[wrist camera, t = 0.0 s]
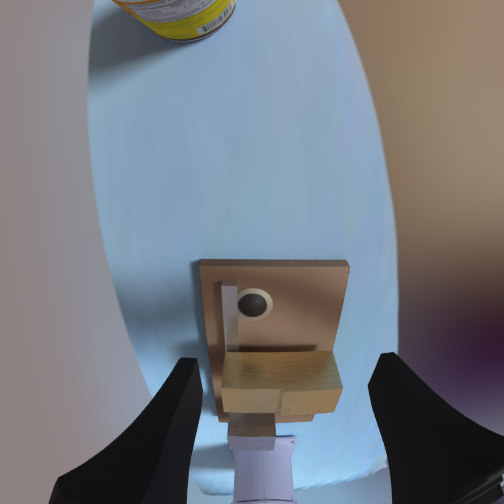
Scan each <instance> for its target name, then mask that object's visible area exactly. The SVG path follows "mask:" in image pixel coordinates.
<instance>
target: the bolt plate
mask: <svg viewBox="0 0 504 504" xmlns="http://www.w3.org/2000/svg"><path fill="white" fill-rule="evenodd" d="M349 270H350V266H349V264H348V262H347V261H346V260H233V259H201V262H200V264H199V272H200V283H201V293H202V303H203V312H204V321H205V329H206V337H207V345H208V353H209V360H210V368H211V375H212V381H213V388H214V395H215V401H216V407H217V413H218V419H219V422H225V423H228V420H229V412H224V409H223V401H222V393H221V383H222V374H223V365H224V356H225V352H226V349H225V336H224V322H223V307H222V290H221V285H222V280H238V316H239V348H240V352H308V351H328V350H333V346H334V342H335V338H336V334H337V329H338V325H339V321H340V316H341V311H342V307H343V302H344V297H345V292H346V286H347V281H348V275H349ZM313 417H314V414H307V415H289V416H280V413H275V423H290V422H307V421H312V420H313Z"/></svg>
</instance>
